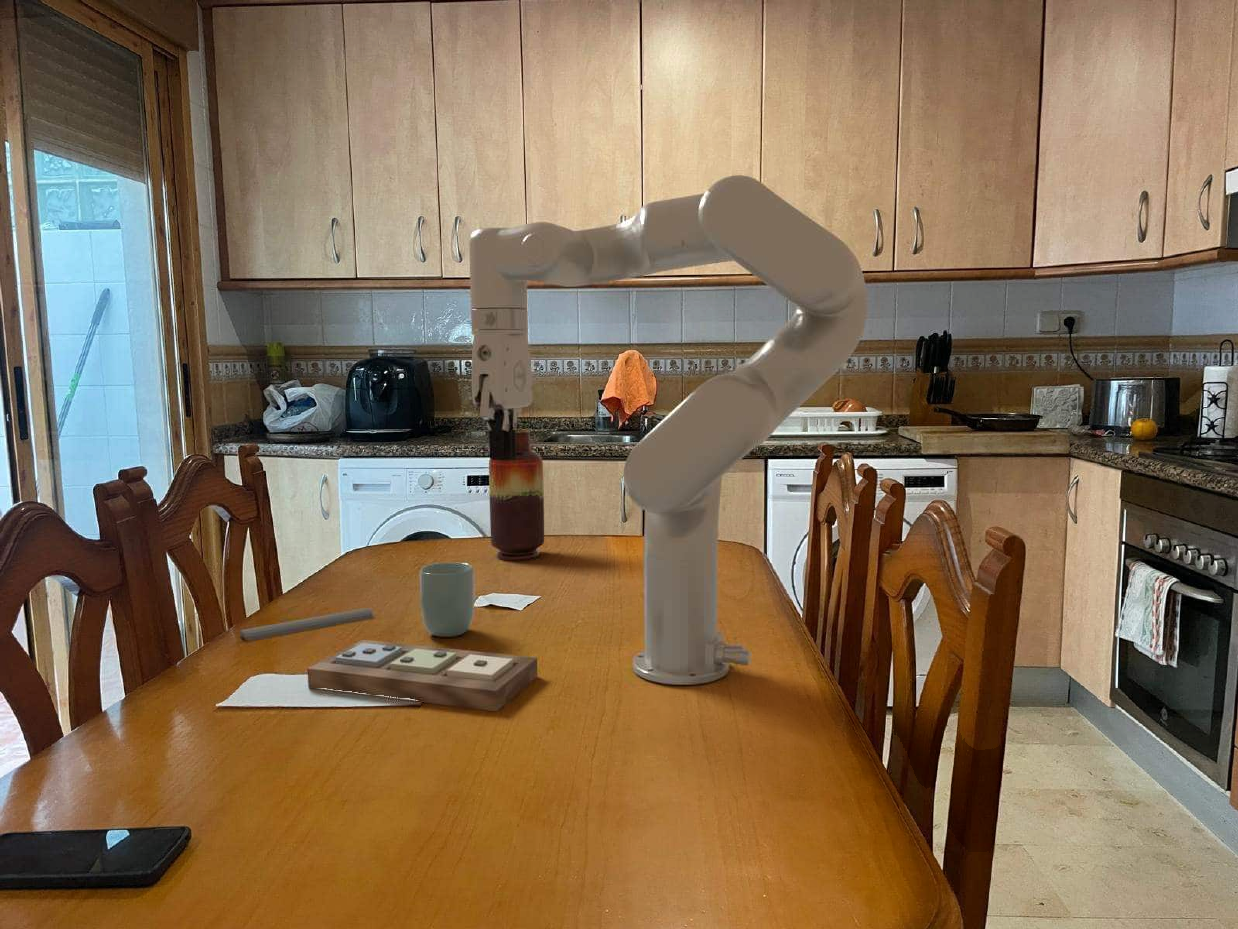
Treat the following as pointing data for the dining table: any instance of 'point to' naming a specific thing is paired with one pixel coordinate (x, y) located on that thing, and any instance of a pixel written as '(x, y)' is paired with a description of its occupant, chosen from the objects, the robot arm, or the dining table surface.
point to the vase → (517, 502)
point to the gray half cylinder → (305, 624)
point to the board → (425, 680)
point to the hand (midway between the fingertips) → (502, 459)
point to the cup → (447, 598)
